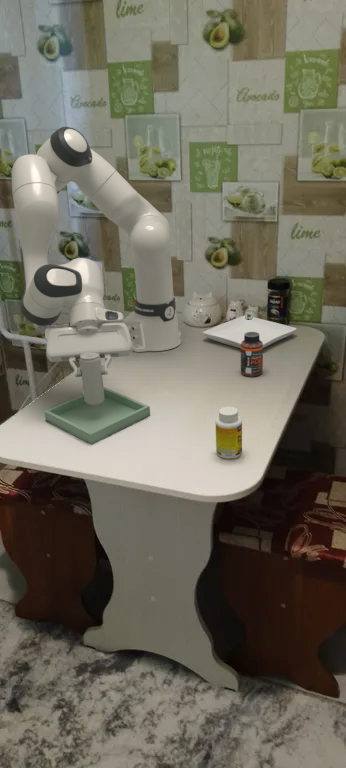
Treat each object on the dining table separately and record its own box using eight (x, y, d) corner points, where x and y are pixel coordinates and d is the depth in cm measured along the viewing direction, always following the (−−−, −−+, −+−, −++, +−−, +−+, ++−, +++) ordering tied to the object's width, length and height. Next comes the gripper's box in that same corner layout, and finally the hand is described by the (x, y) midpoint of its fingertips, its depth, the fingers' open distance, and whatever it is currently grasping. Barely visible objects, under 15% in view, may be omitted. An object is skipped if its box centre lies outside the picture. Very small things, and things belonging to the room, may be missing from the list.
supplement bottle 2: (252, 379, 172) (252, 339, 168) (236, 373, 177) (235, 334, 172) (267, 372, 176) (267, 333, 171) (251, 366, 180) (250, 328, 175)
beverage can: (100, 406, 152) (95, 359, 147) (81, 405, 153) (75, 358, 149) (107, 398, 156) (103, 351, 152) (89, 396, 158) (83, 350, 153)
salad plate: (298, 337, 200) (298, 326, 199) (255, 358, 187) (255, 347, 185) (244, 323, 214) (244, 314, 212) (201, 342, 200) (200, 332, 199)
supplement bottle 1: (241, 460, 136) (240, 417, 131) (215, 459, 137) (213, 416, 132) (243, 447, 141) (242, 404, 136) (217, 446, 142) (216, 404, 137)
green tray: (45, 420, 157) (44, 411, 156) (103, 395, 168) (102, 386, 167) (91, 444, 145) (90, 434, 144) (150, 415, 156) (149, 406, 155)
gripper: (42, 319, 152) (44, 373, 148) (129, 312, 154) (134, 366, 149) (46, 330, 158) (48, 383, 154) (129, 324, 160) (134, 376, 155)
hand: (91, 374), depth 151 cm, fingers closed on beverage can, 5 cm apart
